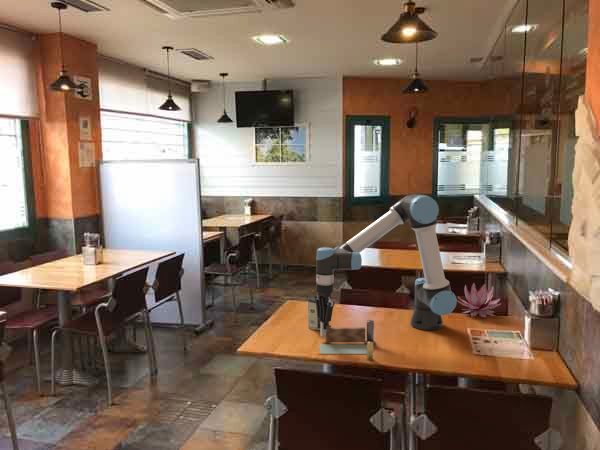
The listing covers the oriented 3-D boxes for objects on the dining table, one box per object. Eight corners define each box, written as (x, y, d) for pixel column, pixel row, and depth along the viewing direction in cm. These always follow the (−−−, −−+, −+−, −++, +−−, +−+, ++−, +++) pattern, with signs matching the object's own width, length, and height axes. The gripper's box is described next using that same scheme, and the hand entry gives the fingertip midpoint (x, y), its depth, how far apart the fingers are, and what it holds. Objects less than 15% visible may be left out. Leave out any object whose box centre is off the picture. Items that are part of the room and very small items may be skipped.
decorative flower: (481, 324, 229) (482, 294, 227) (447, 312, 247) (447, 284, 245) (509, 317, 239) (511, 288, 237) (475, 306, 258) (476, 279, 256)
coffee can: (330, 323, 231) (330, 295, 230) (327, 330, 221) (327, 301, 220) (309, 322, 234) (309, 294, 232) (306, 329, 224) (305, 300, 222)
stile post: (372, 358, 189) (372, 341, 189) (373, 360, 187) (373, 343, 186) (366, 358, 189) (366, 341, 189) (367, 360, 187) (367, 343, 186)
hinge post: (375, 341, 207) (375, 319, 206) (376, 345, 203) (376, 323, 201) (363, 341, 208) (363, 319, 206) (364, 345, 203) (365, 323, 201)
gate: (364, 340, 206) (364, 325, 205) (365, 342, 204) (365, 326, 203) (326, 340, 206) (326, 325, 205) (326, 342, 204) (326, 327, 203)
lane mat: (365, 345, 203) (365, 344, 203) (368, 354, 193) (368, 353, 193) (319, 345, 204) (319, 344, 204) (319, 354, 194) (319, 353, 194)
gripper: (309, 281, 209) (309, 332, 212) (325, 287, 198) (324, 341, 201) (324, 279, 213) (323, 329, 216) (340, 285, 202) (339, 338, 205)
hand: (323, 335), depth 209 cm, fingers closed
